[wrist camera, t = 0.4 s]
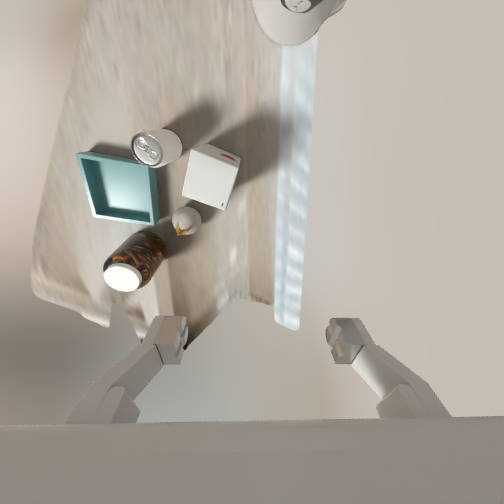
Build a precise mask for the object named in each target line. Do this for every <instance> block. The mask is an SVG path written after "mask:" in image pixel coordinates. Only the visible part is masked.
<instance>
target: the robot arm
mask: <svg viewBox="0 0 504 504" xmlns="http://www.w3.org/2000/svg"><path fill="white" fill-rule="evenodd" d="M345 2H346V0H252V4H253V8H254V11H255V14H256V17H257V20H258V22H259V24H260V26H261V27H262V29H263V31H264V32H265V33H266V34H267V35H268V36H269V37H270V38H271V39H272V40H273V41H275V42H277V43H279V44H281V45H285V46H293V45H298V44H300V43H303V42H304V41H306V40H308V39H309V38H310V37H311V36H312V35H313V34H314V33H315V32H316V31H317V30H318V29H319V28H320V26H321V25H322V24H323V22H324V21H325V20H326V19H327V18H328V17H330V16H332V15H334V14H335V13H337V12H338V11H339V10H341V8H342V7H343V5H344V3H345ZM329 322H330V325H329V326H328V327H327V329H326V340H327V342H328V344H329V345H330V346H331V347H332V350H331V353H332V355H333V358H334V361H335V363H336V364H351V366H352V367H353V368H354V369H355V370H356V371H357V372H358V373H359V374H360V376H361V377H362V378H363V379H364V380H365V381H366V382H367V383H368V384H369V385H370V387H372V389H374V391H375V392H376V393H377V394H378V395H379V396H380V397H381V398H382V401H381V402H380V403H379V404H378V405H377V406H376V409H377V412H378V414H379V416H380V418H379V419H378V418H377V419H327V420H325V419H323V420H269V421H216V422H165V423H164V422H163V423H162V422H160V423H136V422H137V419H138V417H139V414H140V410H139V408H138V407H137V405H136V404H135V402H134V399H135V398H136V397H137V396H138V395H139V394H140V392H141V391H142V390H143V389H144V388H145V387H146V385H147V384H148V383H149V382H150V381H151V380H152V378H153V377H154V376H155V375H156V374H157V373H158V371H159V370H160V369H161V368H162V367H163V365H167V364H180V363H181V359H182V356H183V352H184V351H183V346H184V345H185V344H186V341H187V336H188V326H187V325H186V324H185V323H186V317H182V316H156V317H155V318H154V319H153V321H152V323H151V325H150V327H149V329H148V331H147V333H146V336H145V338H144V340H143V342H142V344H141V345H137V346H136V347H135V348H134V349H132V350H131V351H130V352H129V353H128V354H126V355H125V356H124V357H123V358H121V359H120V360H119V361H118V362H117V363H115V364H114V365H113V366H112V367H111V368H109V369H108V370H107V371H106V372H105V373H103V374H102V375H101V376H100V377H99V378H97V379H96V380H95V381H94V382H92V383H91V384H90V385H89V386H88V388H87V389H86V391H85V393H84V394H83V396H82V397H81V399H80V401H79V402H78V404H77V406H76V407H75V409H74V410H73V412H72V414H71V416H70V417H69V419H68V420H67V422H66V424H58V425H57V424H52V425H6V426H5V425H4V426H0V504H504V416H489V417H488V416H486V417H451V415H450V414H449V412H448V411H447V410H446V409H445V407H444V405H443V404H442V403H441V401H440V400H439V398H438V397H437V396H436V394H435V393H434V391H433V390H432V389H431V387H430V386H429V384H428V383H427V382H425V381H424V380H423V379H421V378H420V377H419V376H418V375H416V374H415V373H414V372H412V371H411V370H410V369H409V368H407V367H406V366H405V365H403V364H402V363H401V362H399V361H398V360H397V359H396V358H394V357H393V356H392V355H390V354H389V353H388V352H387V351H385V350H384V349H383V348H381V347H380V346H379V345H378V346H377V345H376V344H375V343H374V341H373V340H372V338H371V336H370V335H369V333H368V332H367V330H366V328H365V326H364V325H363V323H362V321H361V320H360V319H359V318H331V319H330V321H329Z"/></svg>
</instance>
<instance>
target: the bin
mask: <svg viewBox="0 0 504 504" xmlns="http://www.w3.org/2000/svg"><path fill="white" fill-rule="evenodd" d="M75 154H76V157H77V161H78V164H79V168H80V171H81V175H82V178H83V182H84V185H85V189H86V192H87V196H88V199H89V203H90V206H91V210H92V213H93V217H97V218H104V219H111V220H118V221H125V222H132V223H139V224H146V225H153V226H154V225H155V224H156V223H157V222H158V221H159V220H160V215H159V203H158V192H157V180H156V169H155V168H152V167H148V166H145V165H143V164H141V163H140V162H139V161H137V160H134V159H129V158H123V157H118V156H112V155H107V154H101V153H95V152H90V151H87V152H80V153H75Z"/></svg>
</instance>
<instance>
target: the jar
mask: <svg viewBox="0 0 504 504" xmlns="http://www.w3.org/2000/svg"><path fill="white" fill-rule="evenodd" d="M166 253H167V249H166V245H165V243H164V242H163V240H162V239H161V238H159V237H158V236H157V235H155V234H153V233H149V232H137V233H134V234H133V235H131V236H130V237H129V238H128V239H127V240H126V241H125V242H124V243H123V244H122V245H121V246H120V247H119V248H117V249H116V250H115V251H114V252H113V253H112V254H111V255H110V256H109V258H108V259H107V260H106V261H105V263H104V266H103V271H104V279H105V281H106V283H107V284H108V285H109V286H111V287H112V288H114V289H116V290H119V291H125V292H128V291H133V290H135V289H139V288H142V287H144V286H145V285H146V284H147V283H148V282H149V281H150V280H151V278H152V277H153V275H154V274H155V272H156V271H157V269H158V267H159V266H160V264H161V263H162V261H163V259H164V258H165V256H166Z"/></svg>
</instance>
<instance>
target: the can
mask: <svg viewBox="0 0 504 504" xmlns="http://www.w3.org/2000/svg"><path fill="white" fill-rule="evenodd" d="M131 151H132V153H133V155H134V157H135V158H136V159H137V161H139V162H140V163H141V164H143V165H145V166H148V167H152V168H158V167H161V166H164V165H166V164H168V163H170V162H172V161H174V160H176V159H178V158H179V157H180V155H181V153H182V143H181V141H180V139H179V137H178V136H177V135H176V134H175V133H174V132H172V131H170V130H167V129H146V130H141V131H139V132H137V133H136V134H135V135H134V136H133V138H132V140H131Z"/></svg>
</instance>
